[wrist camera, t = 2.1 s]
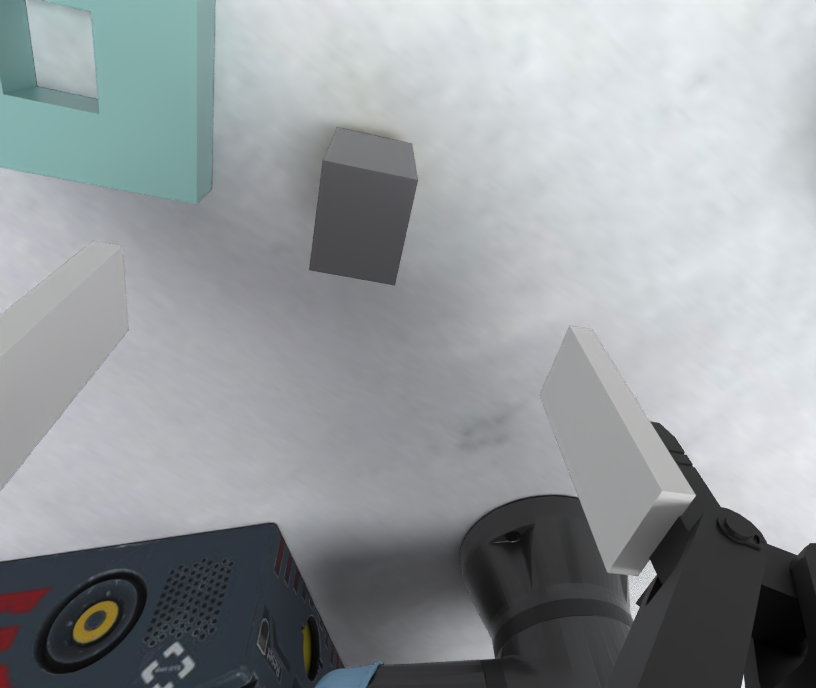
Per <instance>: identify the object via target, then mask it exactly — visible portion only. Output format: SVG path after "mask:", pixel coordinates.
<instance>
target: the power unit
mask: <svg viewBox="0 0 816 688" xmlns="http://www.w3.org/2000/svg"><path fill="white" fill-rule="evenodd" d="M342 668H343V666H342V663H341V661H340V659H339V657H338V655H337V653H336V651H335V649H334V646H333V644H332V642H331V640H330V638H329V636H328V634H327V632H326V629H325V627H324V625H323V623H322V621H321V619H320V617H319V615H318V612H317V610H316V608H315V606H314V604H313V602H312V600H311V598H310V596H309V593H308V591H307V589H306V587H305V585H304V583H303V581H302V579H301V576H300V574H299V572H298V570H297V568H296V566H295V564H294V562H293V559H292V557H291V555H290V553H289V551H288V549H287V547H286V545H285V542H284V540H283V538H282V536H281V534H280V532H279V530H278V528H277V525H275V524H272V523H271V524H264V525H258V526H251V527H244V528H237V529H230V530H223V531H216V532H209V533H202V534H195V535H189V536H182V537H175V538H168V539H161V540H154V541H147V542H140V543H133V544H126V545H120V546H113V547H106V548H99V549H92V550H85V551H78V552H71V553H64V554H57V555H51V556H44V557H37V558H30V559H23V560H16V561H9V562H2V563H0V688H315V686H316V685H317V683H318V682H319V681H320V680H321V679H322V677H323V676H325V675H326V674H327V673H329V672H331V671H333V670H336V669H342Z"/></svg>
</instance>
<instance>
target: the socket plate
mask: <svg viewBox="0 0 816 688" xmlns="http://www.w3.org/2000/svg"><path fill="white" fill-rule="evenodd" d="M43 1H47V2H52V3H56V4H60V5H65V6H69V7H73V8H78V9H82V10H86V11H91V21H92V32H93V44H94V55H95V66H96V78H97V89H98V99H94V98H89V97H84V96H80V95H75V94H70V93H65V92H61V91H56V90H51V89H46V88H42V87H37V83H36V76H35V68H34V61H33V54H32V47H31V40H30V33H29V26H28V19H27V12H26V5H25V0H0V167H1V168H7V169H12V170H17V171H22V172H28V173H33V174H38V175H44V176H49V177H54V178H59V179H65V180H70V181H75V182H81V183H86V184H91V185H96V186H102V187H107V188H112V189H118V190H123V191H128V192H134V193H139V194H144V195H149V196H155V197H160V198H165V199H171V200H176V201H181V202H186V203H192V204H198V203H199V201H200V200H201V199H202V198H203V197H204V196H205V195H206V194H207V193H208V192H209V191H210V190H211V189H212V151H213V94H214V37H215V0H43Z"/></svg>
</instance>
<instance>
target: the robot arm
mask: <svg viewBox="0 0 816 688" xmlns="http://www.w3.org/2000/svg"><path fill="white" fill-rule="evenodd" d="M128 330H129V327H128V314H127V300H126V286H125V272H124V259H123V246H121V245H115V244H110V243H104V242H98V241H92V242H91V243H89V244H88V245H87V246H86V247H84V248H83V249H82V250H81V251H79V252H78V253H77V254H76V255H74V256H73V257H72V258H71V259H69V260H68V261H67V262H66V263H64V264H63V265H62V266H61V267H59V268H58V269H57V270H56V271H55V272H53V273H52V274H51V275H50V276H48V277H47V278H46V279H45V280H43V281H42V282H41V283H40V284H38V285H37V286H36V287H35V288H33V289H32V290H31V291H30V292H28V293H27V294H26V295H25V296H23V297H22V298H21V299H20V300H18V301H17V302H16V303H15V304H13V305H12V306H11V307H10V308H8V309H7V310H6V311H5V312H3V313H2V314H1V315H0V491H1V490H2V489H3V488H4V486H5V485H6V484H7V483H8V481H9V480H10V479H11V478H12V476H13V475H14V474H15V473H16V471H17V470H18V469H19V468H20V466H21V465H22V464H23V463H24V461H25V460H26V459H27V458H28V456H29V455H30V454H31V452H32V451H33V450H34V449H35V447H36V446H37V445H38V444H39V442H40V441H41V440H42V439H43V437H44V436H45V435H46V434H47V432H48V431H49V430H50V429H51V427H52V426H53V425H54V424H55V422H56V421H57V420H58V419H59V417H60V416H61V415H62V413H63V412H64V411H65V410H66V408H67V407H68V406H69V405H70V403H71V402H72V401H73V400H74V398H75V397H76V396H77V395H78V393H79V392H80V391H81V390H82V388H83V387H84V386H85V385H86V383H87V382H88V381H89V380H90V378H91V377H92V376H93V374H94V373H95V372H96V371H97V369H98V368H99V367H100V366H101V364H102V363H103V362H104V361H105V359H106V358H107V357H108V356H109V354H110V353H111V352H112V351H113V349H114V348H115V347H116V346H117V344H118V343H119V342H120V341H121V339H122V338H123V337H124V335H125V334H126V333H127V332H128ZM540 398H541V401H542V403H543V406H544V408H545V411H546V414H547V416H548V419H549V421H550V424H551V427H552V429H553V432H554V434H555V437H556V440H557V442H558V445H559V448H560V450H561V453H562V455H563V458H564V461H565V463H566V466H567V468H568V471H569V474H570V476H571V479H572V481H573V484H574V487H575V489H576V492H577V495H578V497H579V499H575V498H570V497H560V496H547V497H536V498H530V499H525V500H521V501H517V502H514V503H511V504H508V505H506V506H503V507H501V508H499V509H497V510H495V511H493V512H492V513H490V514H488V515H487V516H485V517H484V518H483V519H481V520H480V521H479V522H478V523H477V524H476V525H475V526H474V527H473V528H472V529H471V530H470V531H469V533H468V534H467V536H466V537H465V539H464V541H463V544H462V547H461V552H460V559H461V567H462V574H463V580H464V583H465V586H466V589H467V591H468V593H469V595H470V597H471V599H472V601H473V603H474V605H475V607H476V609H477V611H478V613H479V615H480V617H481V619H482V621H483V623H484V625H485V627H486V629H487V631H488V633H489V635H490V637H491V639H492V643H493V649H494V655H495V659H487V660H464V661H448V662H432V663H415V664H391V665H384V664H383V662H375V663H373V664H372V665H368V666H359V667H351V668H342V669H336V670H333V671H331V672H329V673H327V674H326V675H325V676H323V677H322V679H321V680H320V681H319V682H318V683H317V685H316V686H315V688H741V685H742V680H743V675H744V680H745V688H816V543H810V544H809V545H808V546H806V547H805V548H804V549H803V550H802V551H801V552H800V553H799V554H798V555H795V554H792V553H790V552H787V551H784V550H782V549H779V548H777V547H774V546H771V545H769V544H767V542H766V540H765V538H764V537H763V535H762V533H761V532H760V531H759V530H758V529H757V528H756V527H755V526H754V525H753V524H752V523H751V522H750V521H748V520H747V519H746V518H744V517H743V516H741V515H740V514H738V513H736V512H734V511H732V510H730V509H727V508H722V507H720V505H719V504H718V502H717V501H716V499H715V498H714V496H713V495H712V493H711V491H710V490H709V488H708V487H707V485H706V484H705V482H704V481H703V479H702V478H701V476H700V475H699V473H698V472H697V470H696V469H695V467H692V465H693V464H692V463H691V461H690V460H689V458H688V456H687V455H684V453H685V452H684V450H683V449H682V447H681V446H680V444H679V443H678V441H677V440H676V438H675V437H674V436H673V435H672V434H671V433H670V432H669V431H667V430H666V429H665V428H664V427H663V426H662V425H661V424H660V423H656V422H650V421H649V419H648V418H647V416H646V414H645V413H644V411H643V410H642V408H641V406H640V405H639V403H638V402H637V400H636V398H635V397H634V395H633V393H632V392H631V390H630V389H629V387H628V385H627V384H626V382H625V381H624V379H623V377H622V376H621V374H620V373H619V371H618V369H617V368H616V366H615V365H614V363H613V361H612V360H611V358H610V357H609V355H608V353H607V352H606V350H605V349H604V347H603V345H602V344H601V342H600V341H599V339H598V337H597V336H596V334H595V332H594V331H593V329H587V328H581V327H576V326H569V328H568V330H567V333H566V335H565V337H564V339H563V342H562V344H561V346H560V349H559V351H558V353H557V356H556V358H555V360H554V362H553V365H552V367H551V369H550V372H549V374H548V376H547V379H546V381H545V383H544V385H543V388H542V390H541V392H540ZM649 560H651V562H652V565H653V567H654V569H655V571H656V573H657V575H656V577H655V578H654V579H653V581H652V582H651V583H650V585H649V586H648V587H647V589H646V590H645V591H644V593H643V594H642V595H641V597H640V598H639V599H638V601H637V602H636V604H637V605H639V606H640V608H639V610H638V613H637V615H636V617H635V619H634V622H633V619H632V616H631V613H630V600H629V583H628V575H633V576H638V575H639V574H640V572H641V571H642V570H643V568H644V567H645V566H646V564H647V563H648V561H649Z"/></svg>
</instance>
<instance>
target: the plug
mask: <svg viewBox="0 0 816 688" xmlns="http://www.w3.org/2000/svg"><path fill="white" fill-rule="evenodd" d="M417 182H418V177H417V171H416V165H415V159H414V153H413V147H412V143H407V142H403V141H398V140H393V139H389V138H384V137H380V136H375V135H370V134H366V133H361V132H356V131H352V130H347V129H342V128H338V127H337V128H336V131H335V133H334V135H333V138H332V140H331V142H330V145H329V147H328V149H327V152H326V154H325V156H324V159H323V163H322V171H321V179H320V187H319V195H318V203H317V211H316V219H315V227H314V235H313V243H312V251H311V260H310V268H309V270H311V271H317V272H323V273H328V274H334V275H340V276H345V277H351V278H356V279H362V280H368V281H373V282H379V283H384V284H390V285H395V282H396V278H397V273H398V268H399V264H400V259H401V255H402V250H403V246H404V241H405V237H406V232H407V227H408V223H409V218H410V214H411V209H412V205H413V200H414V196H415V191H416V186H417Z"/></svg>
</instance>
